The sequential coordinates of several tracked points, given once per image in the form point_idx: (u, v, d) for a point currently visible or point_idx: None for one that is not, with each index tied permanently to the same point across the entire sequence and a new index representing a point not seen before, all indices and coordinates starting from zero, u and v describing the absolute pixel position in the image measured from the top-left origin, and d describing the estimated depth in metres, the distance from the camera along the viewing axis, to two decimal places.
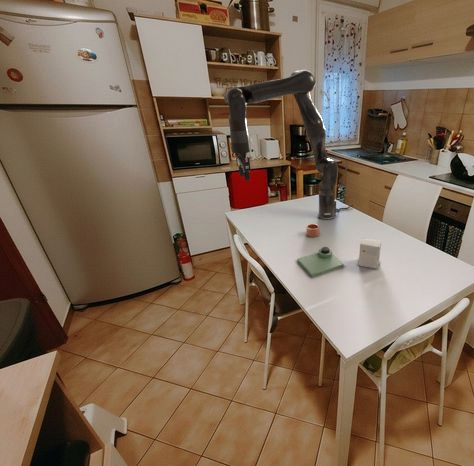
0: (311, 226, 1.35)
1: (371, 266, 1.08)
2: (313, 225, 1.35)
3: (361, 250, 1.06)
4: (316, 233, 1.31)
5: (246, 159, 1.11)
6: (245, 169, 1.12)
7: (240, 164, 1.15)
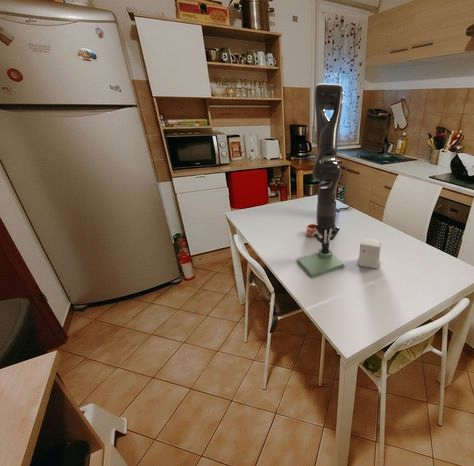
0: (311, 226, 1.35)
1: (371, 265, 1.08)
2: (313, 225, 1.35)
3: (361, 250, 1.06)
4: None
5: (313, 235, 1.07)
6: None
7: None
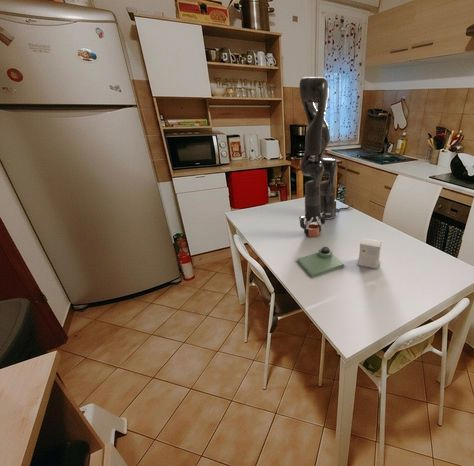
0: (311, 226, 1.35)
1: (371, 265, 1.08)
2: (313, 225, 1.35)
3: (361, 250, 1.07)
4: (316, 233, 1.31)
5: (300, 219, 1.27)
6: (300, 225, 1.30)
7: None
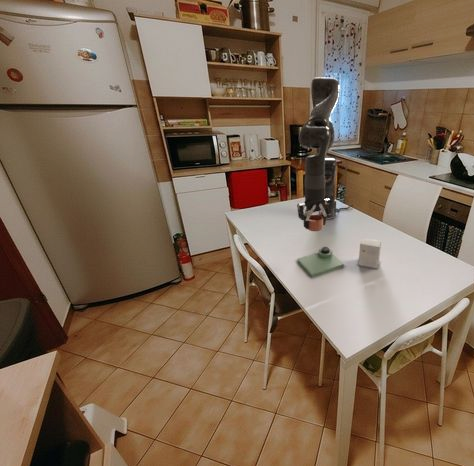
0: (313, 217, 1.04)
1: (371, 265, 1.08)
2: (316, 216, 1.04)
3: (361, 250, 1.07)
4: (319, 226, 1.00)
5: (298, 207, 0.96)
6: (298, 215, 0.98)
7: (308, 209, 1.00)
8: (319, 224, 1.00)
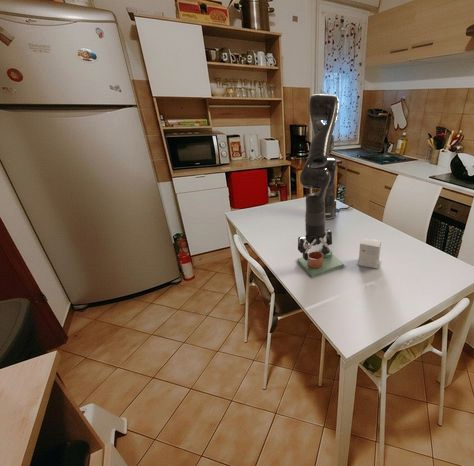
0: (313, 254, 1.09)
1: (371, 265, 1.08)
2: (316, 252, 1.09)
3: (361, 250, 1.07)
4: (320, 264, 1.05)
5: (299, 240, 0.99)
6: (298, 248, 1.02)
7: (308, 241, 1.04)
8: (319, 262, 1.05)
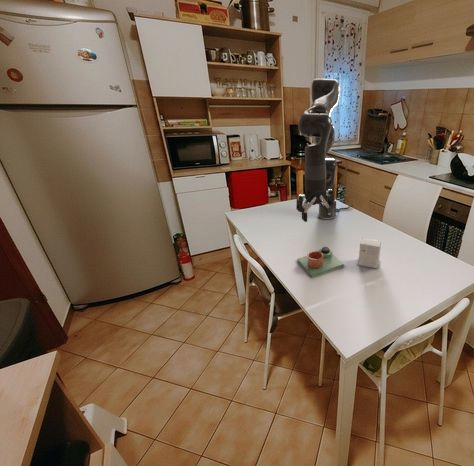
0: (313, 254, 1.09)
1: (371, 265, 1.08)
2: (316, 252, 1.09)
3: (361, 250, 1.07)
4: (320, 264, 1.05)
5: (298, 197, 0.91)
6: (296, 207, 0.94)
7: (307, 201, 0.96)
8: (319, 262, 1.05)
